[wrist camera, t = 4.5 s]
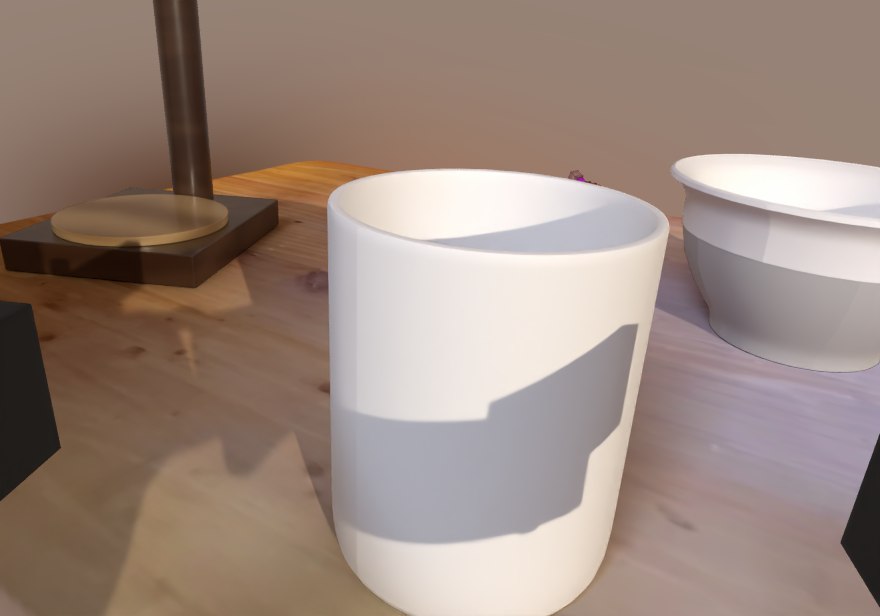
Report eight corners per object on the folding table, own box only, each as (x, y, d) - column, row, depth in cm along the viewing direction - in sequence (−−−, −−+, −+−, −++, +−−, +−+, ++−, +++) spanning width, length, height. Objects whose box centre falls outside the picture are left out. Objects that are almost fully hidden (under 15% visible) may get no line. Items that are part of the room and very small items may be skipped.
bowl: (996, 348, 37) (1061, 196, 33) (914, 454, 27) (995, 251, 23) (721, 267, 47) (749, 145, 44) (588, 321, 37) (611, 168, 34)
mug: (524, 398, 29) (553, 151, 25) (655, 624, 18) (745, 252, 14) (325, 409, 27) (320, 146, 23) (339, 664, 17) (334, 257, 12)
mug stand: (197, 288, 39) (146, -224, 29) (3, 269, 40) (-106, -229, 30) (281, 223, 52) (265, -145, 42) (133, 211, 53) (86, -151, 43)
